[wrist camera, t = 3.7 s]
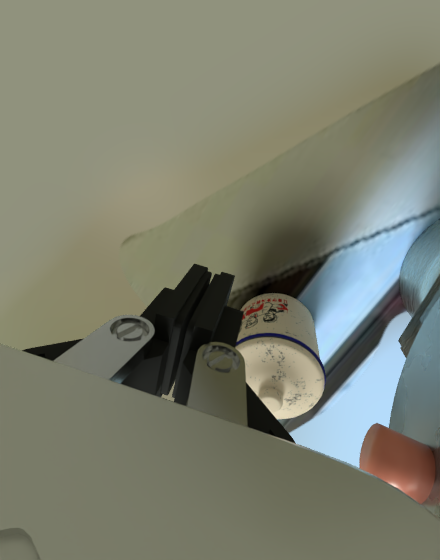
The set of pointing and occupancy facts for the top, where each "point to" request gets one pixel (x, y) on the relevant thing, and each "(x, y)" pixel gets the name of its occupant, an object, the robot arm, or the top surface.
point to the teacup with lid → (281, 354)
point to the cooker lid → (412, 422)
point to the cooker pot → (419, 281)
